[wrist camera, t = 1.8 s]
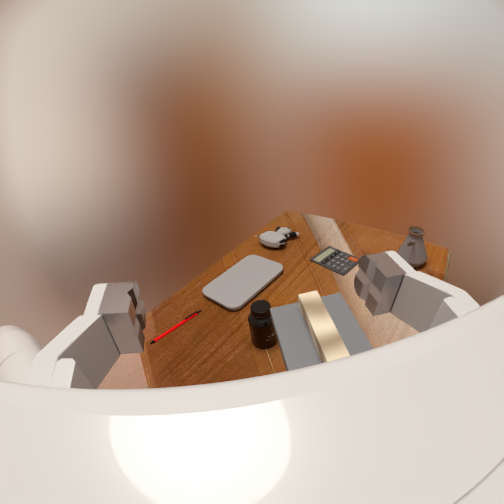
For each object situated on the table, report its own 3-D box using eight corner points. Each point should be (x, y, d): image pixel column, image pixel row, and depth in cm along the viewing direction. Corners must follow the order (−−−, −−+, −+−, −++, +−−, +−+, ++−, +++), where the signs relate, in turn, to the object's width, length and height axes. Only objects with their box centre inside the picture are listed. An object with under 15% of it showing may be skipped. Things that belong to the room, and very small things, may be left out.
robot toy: (278, 232, 123) (254, 245, 114) (278, 222, 121) (253, 234, 112) (301, 239, 115) (277, 254, 106) (301, 229, 113) (277, 243, 104)
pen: (202, 312, 85) (201, 309, 84) (151, 345, 74) (149, 343, 74) (200, 310, 85) (199, 308, 85) (149, 344, 75) (148, 341, 74)
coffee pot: (401, 250, 97) (405, 214, 89) (427, 258, 90) (435, 222, 82) (384, 280, 84) (390, 240, 77) (415, 290, 77) (425, 250, 70)
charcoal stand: (350, 426, 47) (376, 354, 33) (293, 443, 46) (291, 379, 33) (330, 376, 59) (339, 292, 45) (279, 389, 58) (269, 308, 45)
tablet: (287, 271, 97) (286, 265, 96) (235, 316, 82) (234, 310, 80) (251, 258, 107) (250, 253, 106) (200, 296, 92) (198, 291, 90)
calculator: (343, 274, 90) (309, 258, 100) (343, 276, 90) (309, 261, 101) (361, 259, 95) (328, 245, 106) (361, 261, 96) (328, 247, 106)
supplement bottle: (276, 349, 68) (272, 317, 62) (250, 348, 70) (243, 316, 64) (279, 330, 74) (276, 296, 68) (254, 329, 76) (248, 296, 69)
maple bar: (372, 420, 25) (377, 412, 24) (348, 429, 25) (351, 421, 24) (316, 302, 44) (316, 290, 43) (298, 306, 44) (298, 294, 43)
